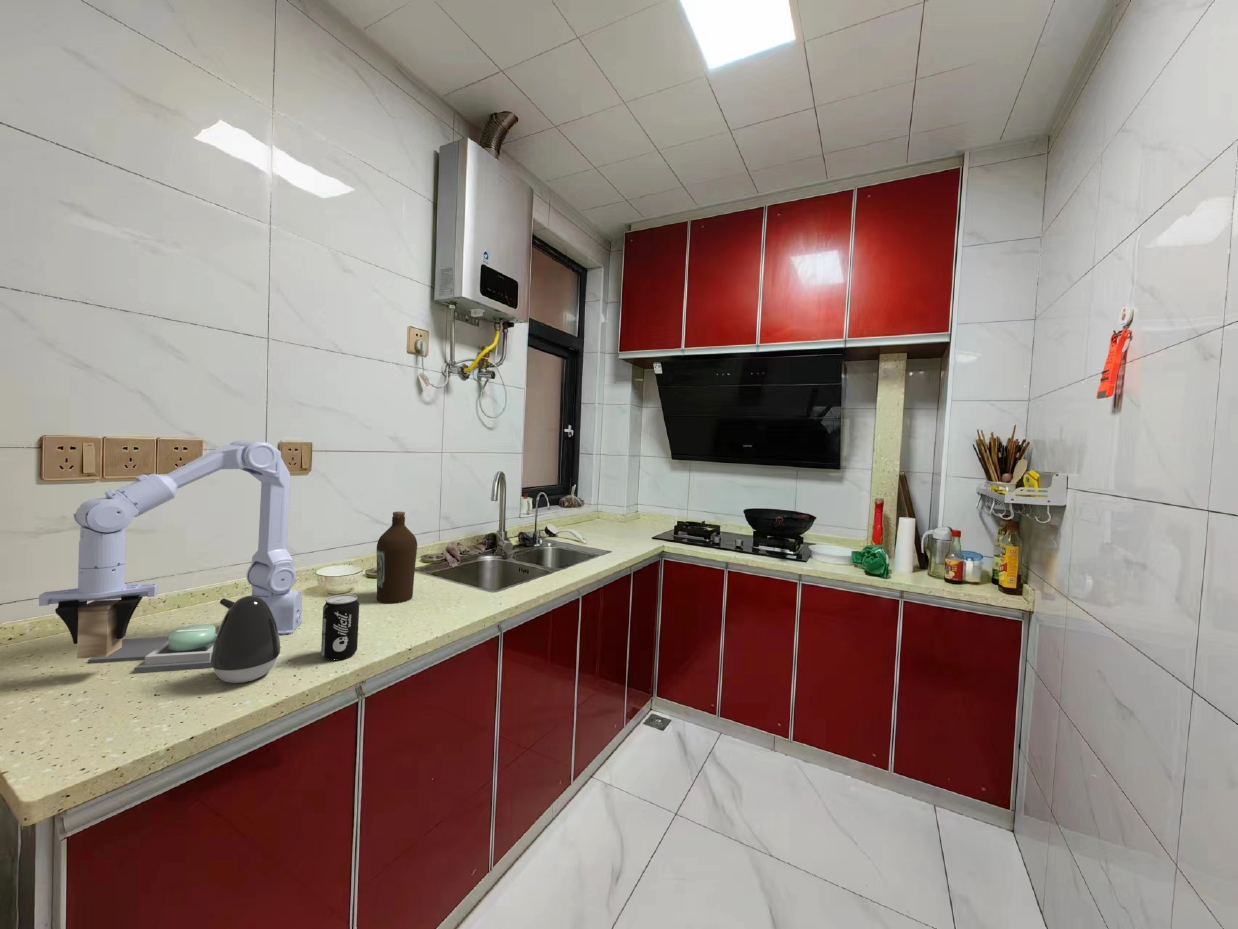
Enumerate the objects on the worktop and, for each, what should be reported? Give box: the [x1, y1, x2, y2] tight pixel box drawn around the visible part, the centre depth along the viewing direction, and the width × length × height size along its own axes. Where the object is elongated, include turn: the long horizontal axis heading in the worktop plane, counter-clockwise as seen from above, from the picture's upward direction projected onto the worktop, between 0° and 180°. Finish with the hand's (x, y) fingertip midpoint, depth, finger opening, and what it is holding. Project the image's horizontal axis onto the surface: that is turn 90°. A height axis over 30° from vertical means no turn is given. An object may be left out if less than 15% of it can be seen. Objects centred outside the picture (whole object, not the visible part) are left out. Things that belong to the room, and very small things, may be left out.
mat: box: [87, 636, 169, 664], centre depth 96 cm, size 10×10×1 cm
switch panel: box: [133, 633, 217, 674], centre depth 95 cm, size 12×12×2 cm
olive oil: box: [376, 511, 418, 604], centre depth 136 cm, size 11×11×25 cm
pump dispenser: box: [211, 595, 281, 684], centre depth 89 cm, size 10×10×15 cm
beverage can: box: [320, 593, 360, 661], centre depth 100 cm, size 7×7×12 cm
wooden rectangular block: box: [76, 599, 123, 659], centre depth 86 cm, size 4×4×9 cm
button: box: [167, 623, 216, 651], centre depth 95 cm, size 7×7×3 cm
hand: (100, 639), depth 86 cm, fingers closed on wooden rectangular block, 5 cm apart
